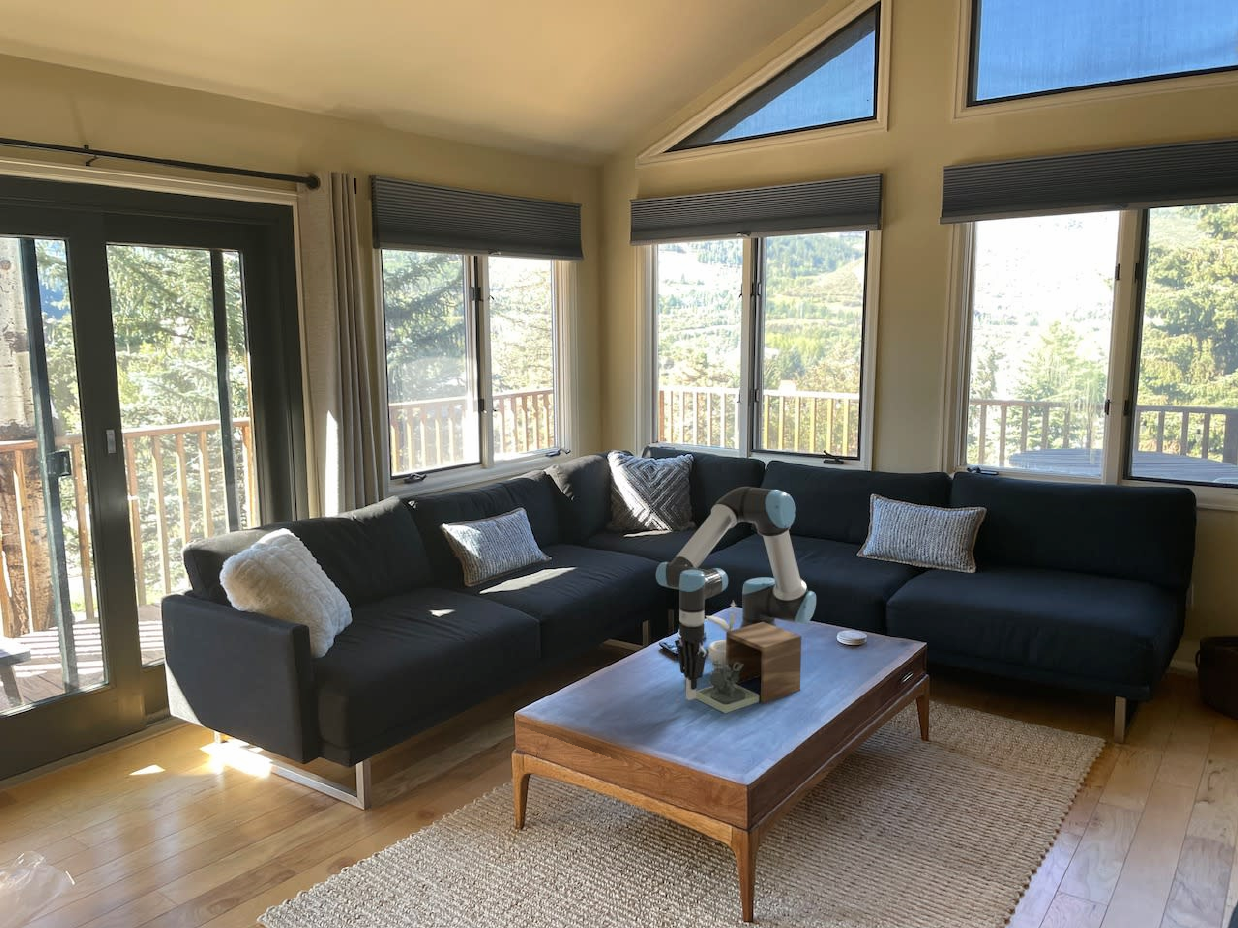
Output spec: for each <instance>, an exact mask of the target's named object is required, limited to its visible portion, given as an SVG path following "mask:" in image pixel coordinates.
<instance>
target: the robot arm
mask: <svg viewBox="0 0 1238 928" xmlns="http://www.w3.org/2000/svg"><path fill="white" fill-rule="evenodd" d="M796 510H797V509H796V503H795V501H794V498H793V497H792V496H791V494H790V493H787V492H786V491H781V490H778V489H767V488H766V489H765V488H757V487H752V486H751V487H750V486H742V487H738V488H736V489H733V490H731V491H729V492H727V493H726V494H725V495H723V496H722V497H720V498H719V499H718V500H717V501H716V502H715V503H714V504H713V506H712V508H711V509H710V515H708V517H707V518H706V520H705V521H704V522H703V523H702V524H701V525H700V527H699V528H698V529H697V530H696V532H695V533H694V534H693V535H692V536H691V538H690V539H689V540H688V542H687V543H685V545H684V546H683V548H682V549H681V550H680V551H679V552H678V554H677V555H676V556H675V557H674V558H673V560H672V561H670V562H669V561H663V562H660V563H659V564H658V566H657V567H656V571H655V580H656V582H657V583H658V584H659V585H660V586H662V587H666V588H669V589H675V590H679V592H678V593H679V597H678V598H679V605H678V607H679V609H678V611H679V613H678V614H679V615H678V620H679V623H678V635H679V636H680V639H677V640H674V643H675V647H676V649H677V650H676V652H677V656H678V657H677V658H678V659H677V660H678V665H679V672H680V673H681V674H683V676H684V681H685V682H684V685H685V699H686V700H688V701H691V700H694V699H696V691H697V689H698V679H702V678H703V676H704V671H705V665H706V660H707V658H708V653H709V651H708V649H705V648H704V643H703V638H704V636H705V619H706V618H705V617H706V615H705V614H706V613H705V609H706V608H705V604H706V602H705V600H706V599H709V598H711V597H714V596H716V595H720V593H722V592H723V591H725V590H726V589H727V588H728V584H729V577H728V574H727V573H726V572H725V571H724V569H721V567H714V568H710V569H703V568H699V566H700V565H701V564H702V563H703V562H704V560H705V559H706V558H707V557H708V556H709V554H710V553H711V552H712V550H713V549H714V548H715V547H716V545H717V544H718V543H719V541H721V539H722V538H723V536H724V535H726V533H727V531H728V530H729V529H733V528H734V527H735V526H736V525H737V524H738V523H741V522H743V523H744V522H745V523H750V524H754V525H755V528H756V532H757V533H758V534H759V535H760V536H762V537H763V541H764V544H765V545H764V546H765V547H766V553H767V555H768V560H769V564H770V568H771V572H772V575H773V577H767V576H766V577H756V578H755V577H754V578H750V579H748V580H746V581H744V583H743V585H742V592H741V595H742V599H741V600H742V602H741V603H742V605H741V606H742V607H741V610H742V611H741V612H742V616H741V617H742V619H741V623H740V626H739V628H743V627H746V626H750V625H753V624H757V623H760V622H765V623H767V624H770V625H773V626H775V627H777V625H776V619H778V620H781V621H785V622H790V623H794V624H803V625H805V624H807V623H809V622H810V620H811V619H812V617H813V616H814V613H815V610H816V606H817V595H816V593H815V592H814V591H813V590H808V587H807V584H806V582H805V581H804V580H803V579H802V578H801V577H800V573H799V568H798V564H797V560H796V556H795V551H794V547H793V544H792V539H791V535H790V531H789V530H790V529H791V526H792V525H793V524H794V523H795V519H796Z"/></svg>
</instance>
